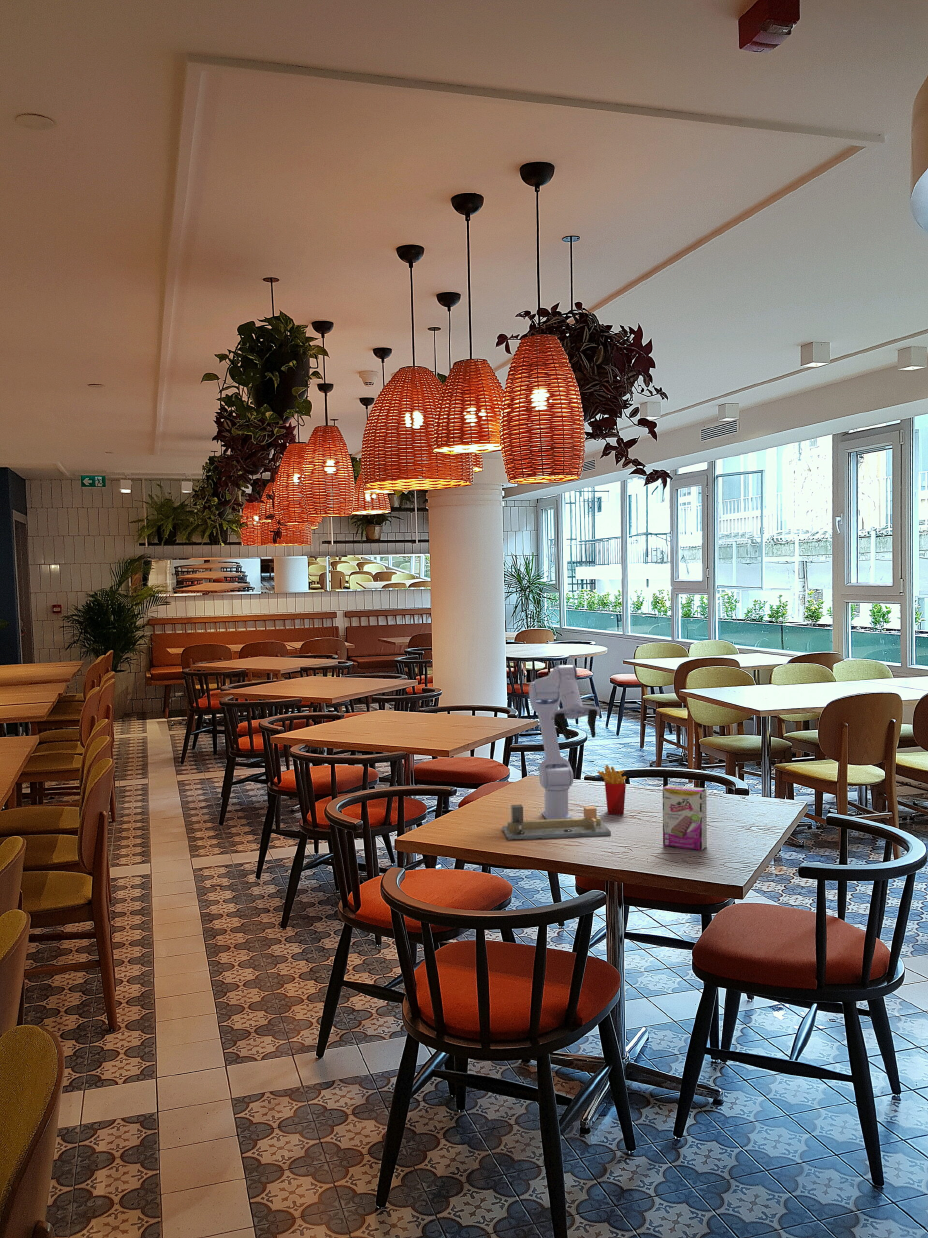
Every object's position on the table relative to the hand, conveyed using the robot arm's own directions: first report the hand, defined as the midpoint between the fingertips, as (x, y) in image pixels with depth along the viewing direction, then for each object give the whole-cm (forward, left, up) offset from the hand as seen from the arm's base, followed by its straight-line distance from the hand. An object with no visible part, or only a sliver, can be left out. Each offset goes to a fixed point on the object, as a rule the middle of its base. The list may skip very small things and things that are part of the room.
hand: (580, 736), depth 271 cm
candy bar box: (+12, +26, -30) cm, 41 cm away
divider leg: (-9, +5, -28) cm, 30 cm away
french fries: (-29, +16, -30) cm, 44 cm away
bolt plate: (-9, -6, -29) cm, 31 cm away
